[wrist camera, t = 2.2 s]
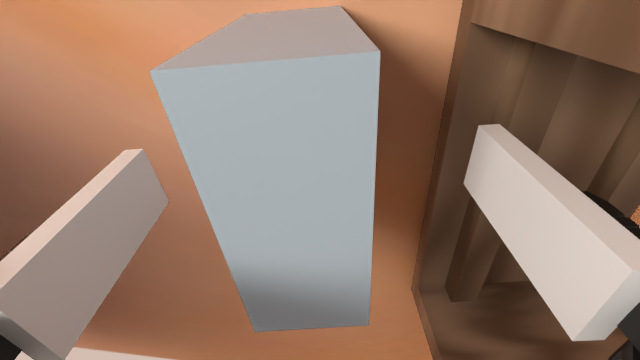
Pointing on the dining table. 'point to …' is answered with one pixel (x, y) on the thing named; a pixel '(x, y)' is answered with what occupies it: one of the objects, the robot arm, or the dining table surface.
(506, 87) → the track base
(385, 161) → the dining table surface
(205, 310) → the dining table surface
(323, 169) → the plain grey rectangular block
